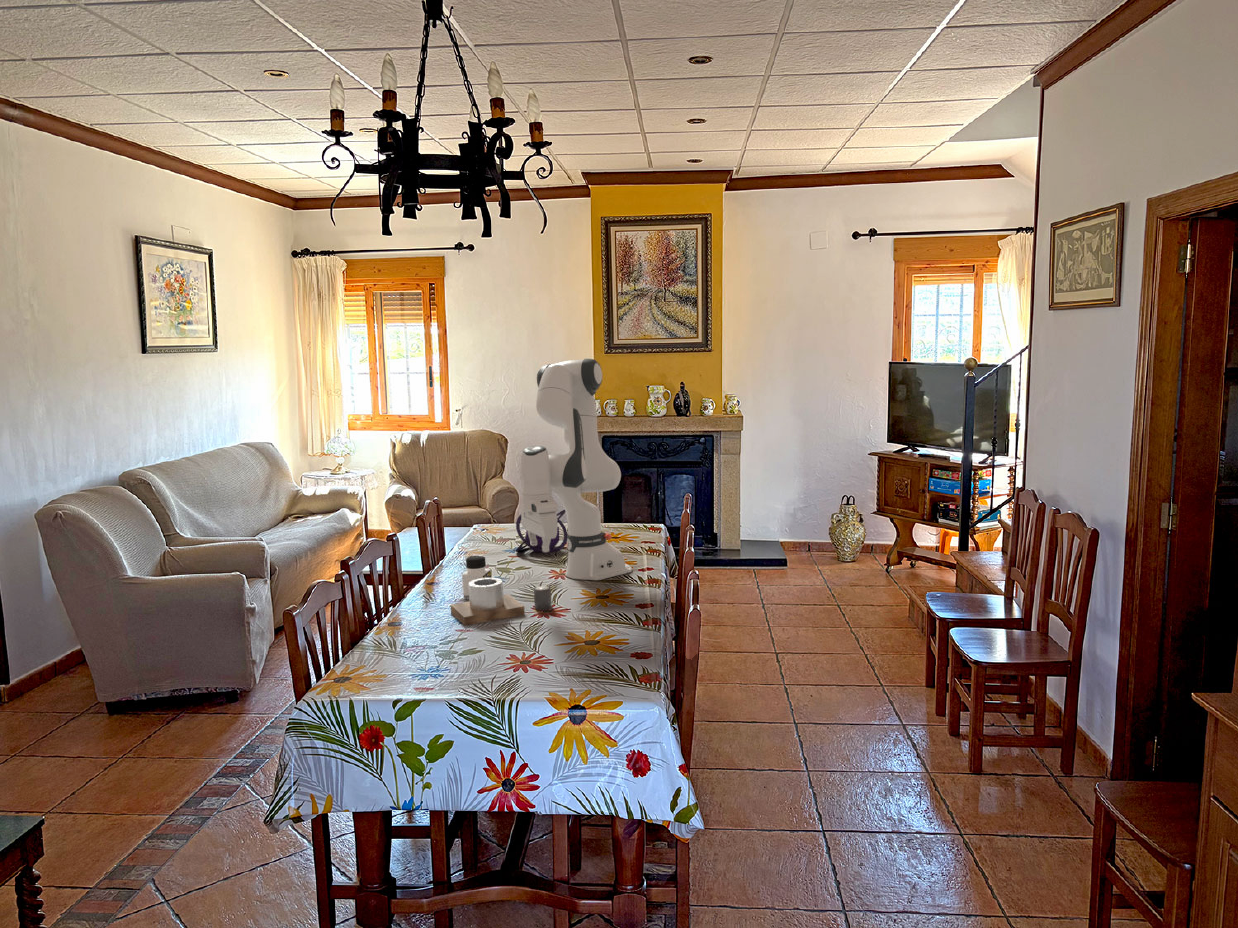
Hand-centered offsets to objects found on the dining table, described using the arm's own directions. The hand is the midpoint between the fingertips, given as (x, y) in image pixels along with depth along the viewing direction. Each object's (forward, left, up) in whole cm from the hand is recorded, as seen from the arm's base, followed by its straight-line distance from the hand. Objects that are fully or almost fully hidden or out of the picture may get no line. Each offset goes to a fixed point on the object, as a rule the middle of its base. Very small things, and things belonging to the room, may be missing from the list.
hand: (539, 548), depth 260 cm
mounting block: (+16, -4, -18) cm, 24 cm away
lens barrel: (+16, -4, -16) cm, 23 cm away
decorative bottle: (-26, -66, -18) cm, 73 cm away
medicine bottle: (+12, -26, -18) cm, 34 cm away
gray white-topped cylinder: (0, 0, -18) cm, 18 cm away
